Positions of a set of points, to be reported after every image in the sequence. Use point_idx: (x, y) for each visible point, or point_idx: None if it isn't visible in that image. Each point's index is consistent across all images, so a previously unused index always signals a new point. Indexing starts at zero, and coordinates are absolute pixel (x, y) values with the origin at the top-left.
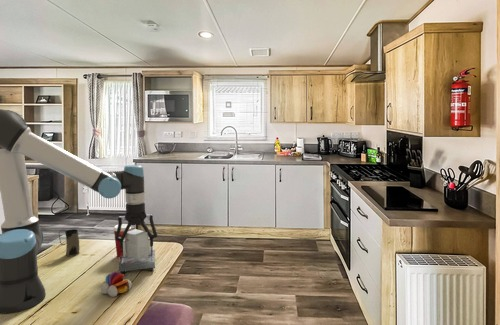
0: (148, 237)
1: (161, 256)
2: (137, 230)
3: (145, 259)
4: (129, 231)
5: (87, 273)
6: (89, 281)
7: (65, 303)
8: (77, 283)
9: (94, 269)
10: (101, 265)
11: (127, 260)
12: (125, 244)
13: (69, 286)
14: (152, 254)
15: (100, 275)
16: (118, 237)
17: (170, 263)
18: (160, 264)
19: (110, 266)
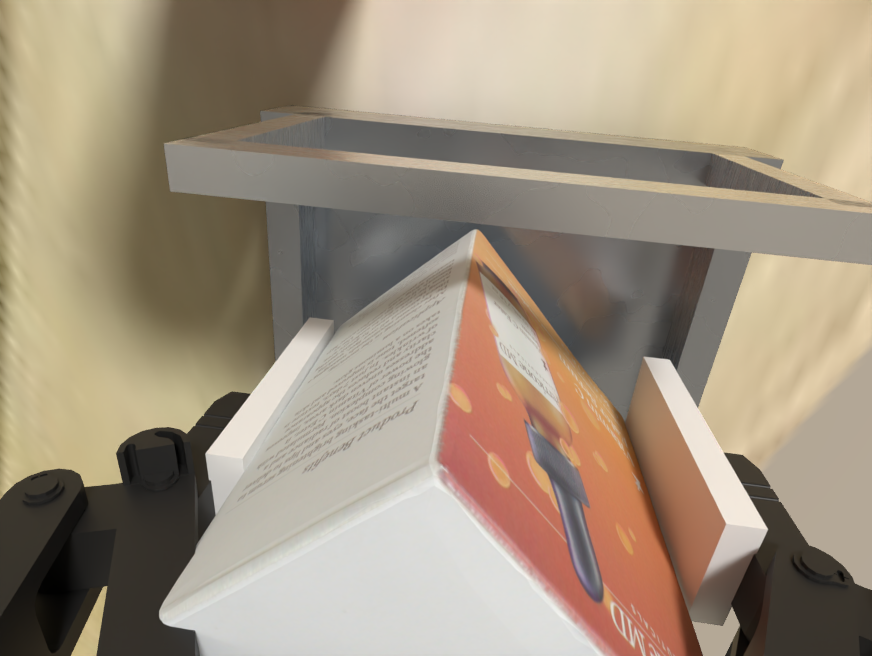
0: (778, 247)
1: (829, 98)
2: (496, 645)
3: (577, 344)
4: (259, 625)
5: (35, 303)
6: (116, 455)
7: (90, 642)
8: (41, 454)
9: (62, 231)
10: (95, 143)
11: (368, 296)
12: (279, 422)
13: (8, 476)
14: (685, 346)
15: (166, 384)
16: (82, 626)
17: (836, 366)
18: (724, 352)
19: (202, 210)
